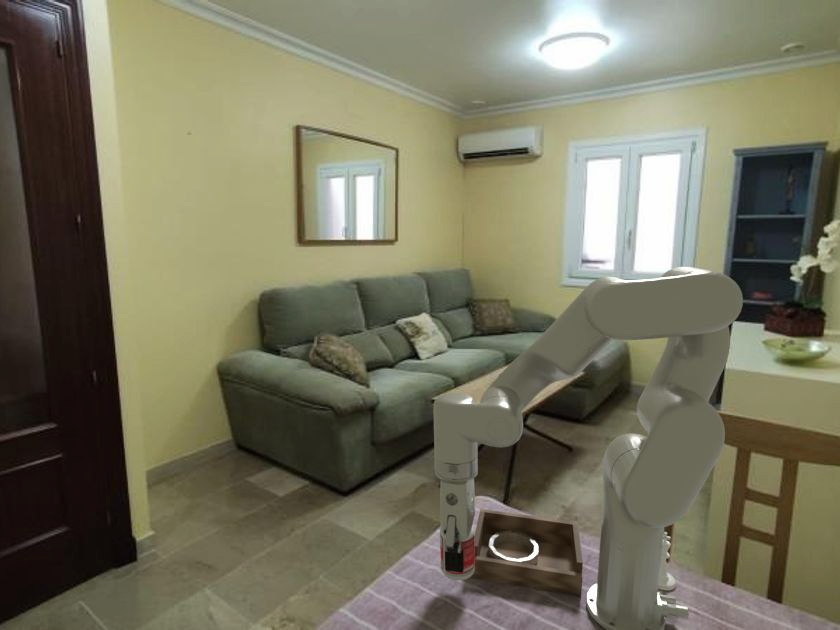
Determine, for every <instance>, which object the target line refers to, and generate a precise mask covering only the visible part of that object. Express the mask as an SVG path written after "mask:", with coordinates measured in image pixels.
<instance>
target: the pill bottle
mask: <svg viewBox="0 0 840 630" xmlns="http://www.w3.org/2000/svg"><path fill="white" fill-rule="evenodd" d="M455 532H459V531H458V529H455ZM474 536H475V528H474V526H473V524H472V528H471V532H470V535H469V536H468V537H467V538H465V537H462V550H463V556H464V570H463V572H462V573H461V572H453V571H447V570H445V538H446V534H445V535H443V534H442V532H441V526H440V528H439V540H440V542H439V545H440V547H439V548H440V569H441V573H442V574H443V575H444V576H445V577H446V578H447V579H450V580H452V581H464V580H467V579H469V578H471V576H472V575H473V573H474V571H475V545H474ZM455 543H457V544H458V537H455Z"/></svg>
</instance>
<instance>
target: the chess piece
mask: <svg viewBox="0 0 840 630" xmlns="http://www.w3.org/2000/svg"><path fill="white" fill-rule="evenodd" d="M670 541H671V536H668V532H667V531H664V537H663V545H662V555H661V565H660V575H659V585H658V590H663V591H672V590H674V589H675V588H676V579H675V578H674V577H673V575H672V574H671V573H668V572H667V559H670V558H671V555H670V553H669V552H668V551H669V549H670V547H671V542H670Z"/></svg>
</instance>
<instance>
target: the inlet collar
mask: <svg viewBox="0 0 840 630" xmlns="http://www.w3.org/2000/svg"><path fill="white" fill-rule="evenodd" d="M504 542H515V543H520V544H522V545H524V546H526V547H528V548H529V549H530V550H531V552H532V554H531V555H530V556H529V557H526V558H520V559H515V558H509V557H506V556H504V555H502V554H500V553H498V552H497V550H496V549H495V548H494V547H496V546H497V545H498V544H499V543H504ZM489 556H490V558H493V559H499V560H505V561H511V562H517V563H523V564H530V565H536V564H537V563H538V544H537V543H536V542H535V541H534V540H533V538H531V537H529V536H527V535H525V534H523V533H521V532H515V531H503V532H498V533H496V534H495V535H493V536H492V537H491V538H490V542H489Z"/></svg>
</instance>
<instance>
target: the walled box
mask: <svg viewBox="0 0 840 630" xmlns="http://www.w3.org/2000/svg"><path fill="white" fill-rule="evenodd" d="M578 525H579V524H578V522H576V521H570V520H569V521H568V520H563V519H555V518H549V517H541V516H540V517H539V516H533V515H528V514H527V515H526V514H518V513H513V512H512V513H510V512H505V511H498V510H491V509H483V508H480V510H479V513H478V519H477V522H476V528H475V530H474V545H475V571H474V573H473V575H472V576H471V577H470V578H471V579H475V580H476V579H477V580H483V581H488V582H493V583H494V582H495V583H498V584H499V583H501V584H504V585H505V584H506V585H511V586H512V585H513V586H518V587H523V588H529V589H534V590H540V591H546V592H553V593H557V594H558V593H559V594H563V595H564V594H565V595H569V596H576V597H580V598H581V597H582V589H583V578H584V577H583V568H584V567H583V565H584V563H583V561H584V560H583V555H582V547H581V541H580V531H579V526H578ZM503 531H515V532H521V533H523V534H525V535H527V536H529V537H531V538H533V540H534V541H535V542H536V543H537V544H538V563H537V564H536V565H530V564H523V563H517V562H511V561H505V560H499V559H493V558H490V556H489V542H490V538H491V537H492V536H493V535H495V534H496V533H498V532H503ZM494 548H495V549H496V550H497V552H498V553H500V554H502V555H504V556H506V557H509V558H515V559H520V558H526V557H529V556H530V555H531V554H532V552H531V550H530V549H529V548H528V547H526V546H524V545H522V544H520V543H515V542H504V543H499V544H498V545H497V546H496V547H494Z"/></svg>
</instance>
